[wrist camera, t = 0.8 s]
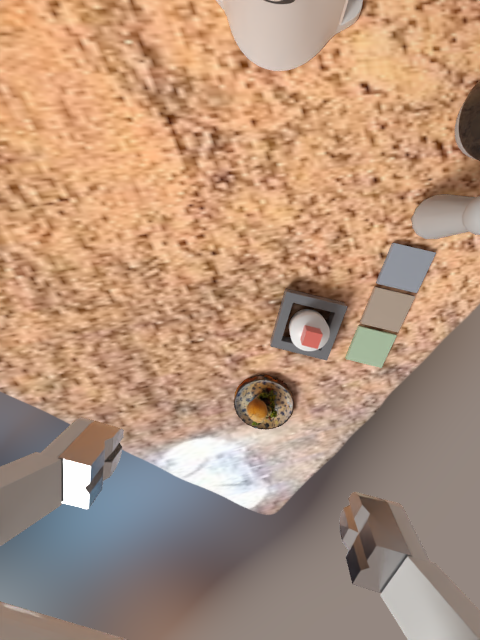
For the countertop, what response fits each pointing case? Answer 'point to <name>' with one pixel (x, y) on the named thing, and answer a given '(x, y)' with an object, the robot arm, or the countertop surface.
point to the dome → (308, 330)
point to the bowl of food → (263, 402)
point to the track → (389, 303)
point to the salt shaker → (447, 216)
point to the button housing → (291, 296)
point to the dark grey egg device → (469, 125)
